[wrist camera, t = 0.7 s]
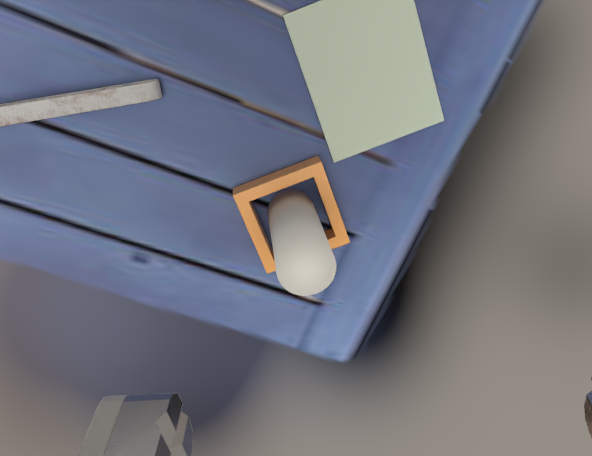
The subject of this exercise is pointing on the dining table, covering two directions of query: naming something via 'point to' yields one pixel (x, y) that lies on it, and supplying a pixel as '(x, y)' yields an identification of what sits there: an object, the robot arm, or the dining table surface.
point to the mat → (365, 71)
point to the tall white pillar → (299, 244)
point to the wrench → (79, 102)
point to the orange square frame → (280, 181)
